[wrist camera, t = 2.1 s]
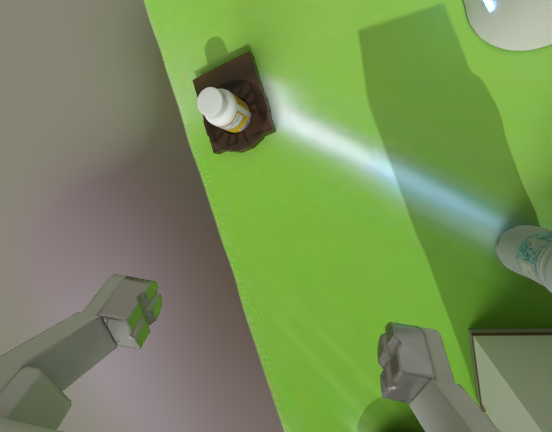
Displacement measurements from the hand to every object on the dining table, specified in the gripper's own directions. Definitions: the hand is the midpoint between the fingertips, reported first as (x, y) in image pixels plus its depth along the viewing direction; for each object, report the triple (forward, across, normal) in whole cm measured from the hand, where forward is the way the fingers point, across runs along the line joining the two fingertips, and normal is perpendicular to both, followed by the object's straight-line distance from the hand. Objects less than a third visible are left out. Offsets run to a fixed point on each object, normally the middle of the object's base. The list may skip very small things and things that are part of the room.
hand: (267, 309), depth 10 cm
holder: (+43, +13, +8) cm, 46 cm away
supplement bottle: (+42, +12, +10) cm, 45 cm away
